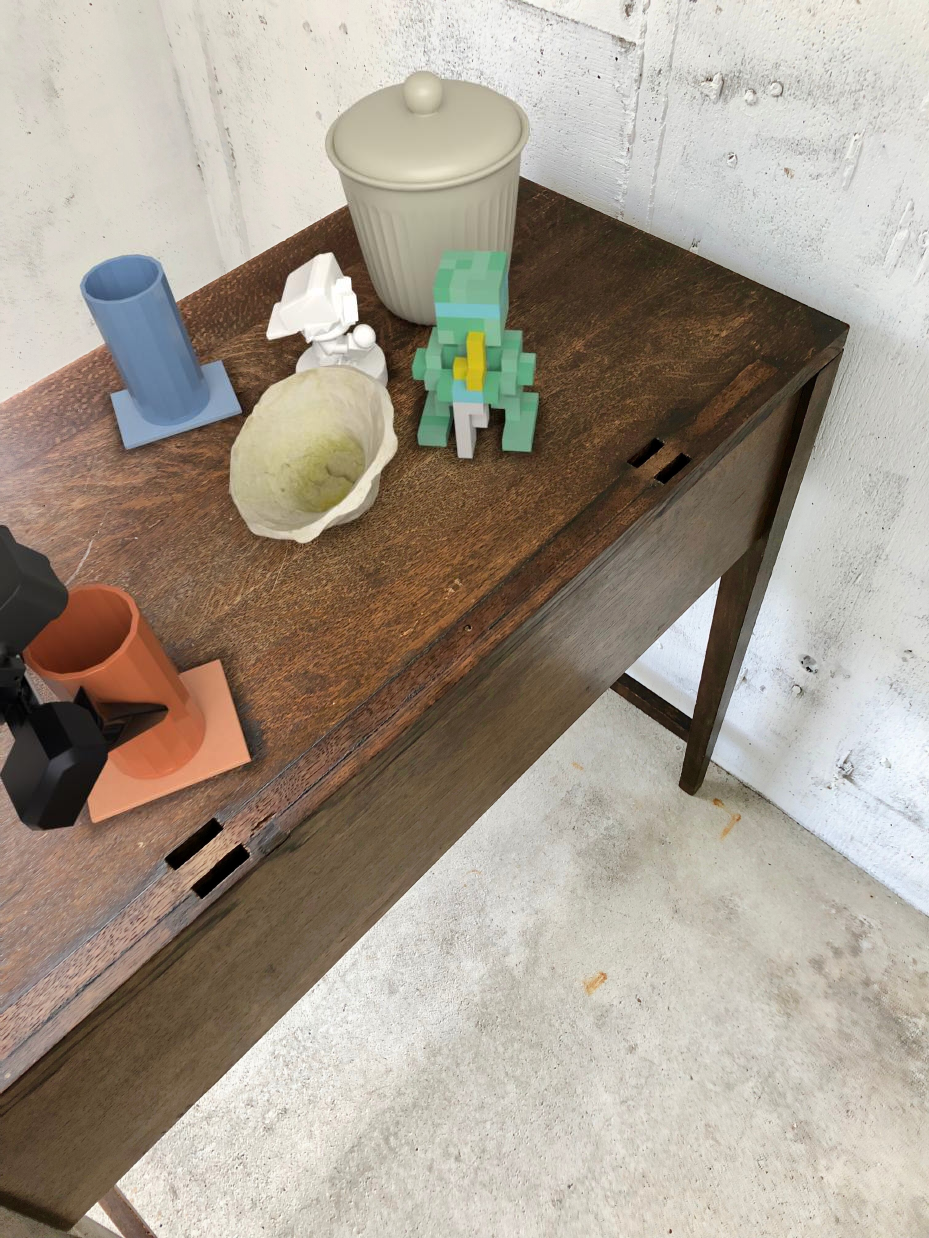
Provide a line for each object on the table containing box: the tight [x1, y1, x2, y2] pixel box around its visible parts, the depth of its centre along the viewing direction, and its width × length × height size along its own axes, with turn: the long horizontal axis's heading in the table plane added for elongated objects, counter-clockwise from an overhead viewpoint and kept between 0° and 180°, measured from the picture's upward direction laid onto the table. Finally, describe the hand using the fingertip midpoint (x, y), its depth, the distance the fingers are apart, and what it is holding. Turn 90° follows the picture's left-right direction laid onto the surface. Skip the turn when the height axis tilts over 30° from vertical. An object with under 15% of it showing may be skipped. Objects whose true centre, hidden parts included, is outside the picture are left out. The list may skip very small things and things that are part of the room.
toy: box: [411, 250, 540, 459], centre depth 73 cm, size 10×10×15 cm
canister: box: [324, 70, 531, 327], centre depth 82 cm, size 18×18×21 cm
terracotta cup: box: [22, 583, 206, 780], centre depth 56 cm, size 7×7×13 cm
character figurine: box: [265, 251, 389, 389], centre depth 79 cm, size 9×10×12 cm
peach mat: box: [87, 658, 252, 824], centre depth 62 cm, size 11×9×1 cm
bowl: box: [228, 365, 399, 544], centre depth 70 cm, size 15×14×10 cm
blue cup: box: [79, 253, 210, 426], centre depth 77 cm, size 7×7×13 cm
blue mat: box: [109, 359, 243, 451], centre depth 83 cm, size 11×8×1 cm
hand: (142, 675), depth 57 cm, fingers closed on terracotta cup, 7 cm apart
